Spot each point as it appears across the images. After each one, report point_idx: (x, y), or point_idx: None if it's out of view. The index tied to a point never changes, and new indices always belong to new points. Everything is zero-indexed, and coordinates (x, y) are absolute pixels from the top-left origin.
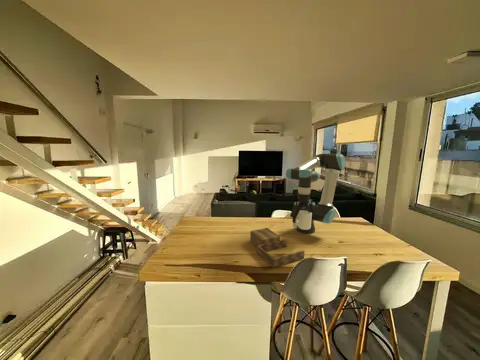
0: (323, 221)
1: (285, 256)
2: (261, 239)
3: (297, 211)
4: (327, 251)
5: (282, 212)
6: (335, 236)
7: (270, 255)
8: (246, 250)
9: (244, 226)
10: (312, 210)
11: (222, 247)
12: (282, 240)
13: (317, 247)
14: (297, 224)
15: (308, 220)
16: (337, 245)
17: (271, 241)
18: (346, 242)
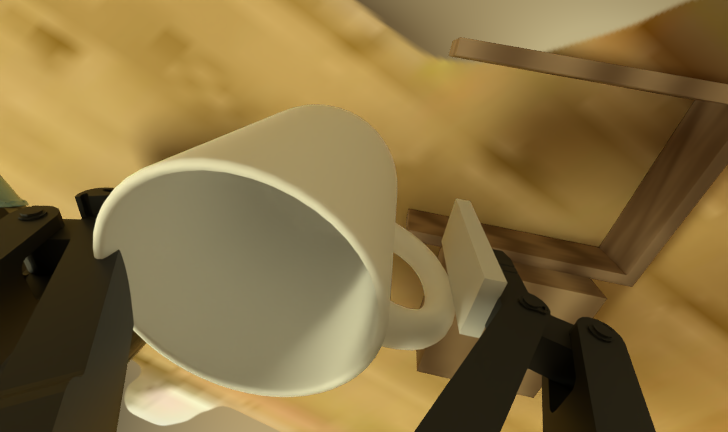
0: (14, 199)
1: (657, 72)
2: (599, 307)
3: (504, 418)
4: (232, 7)
5: (153, 411)
6: (43, 115)
7: (722, 150)
8: (615, 300)
9: (406, 426)
10: (6, 264)
11: (668, 375)
12: (440, 239)
13: (252, 89)
14: (403, 231)
15: (314, 131)
16: (107, 23)
17: (521, 266)
18: (18, 13)
